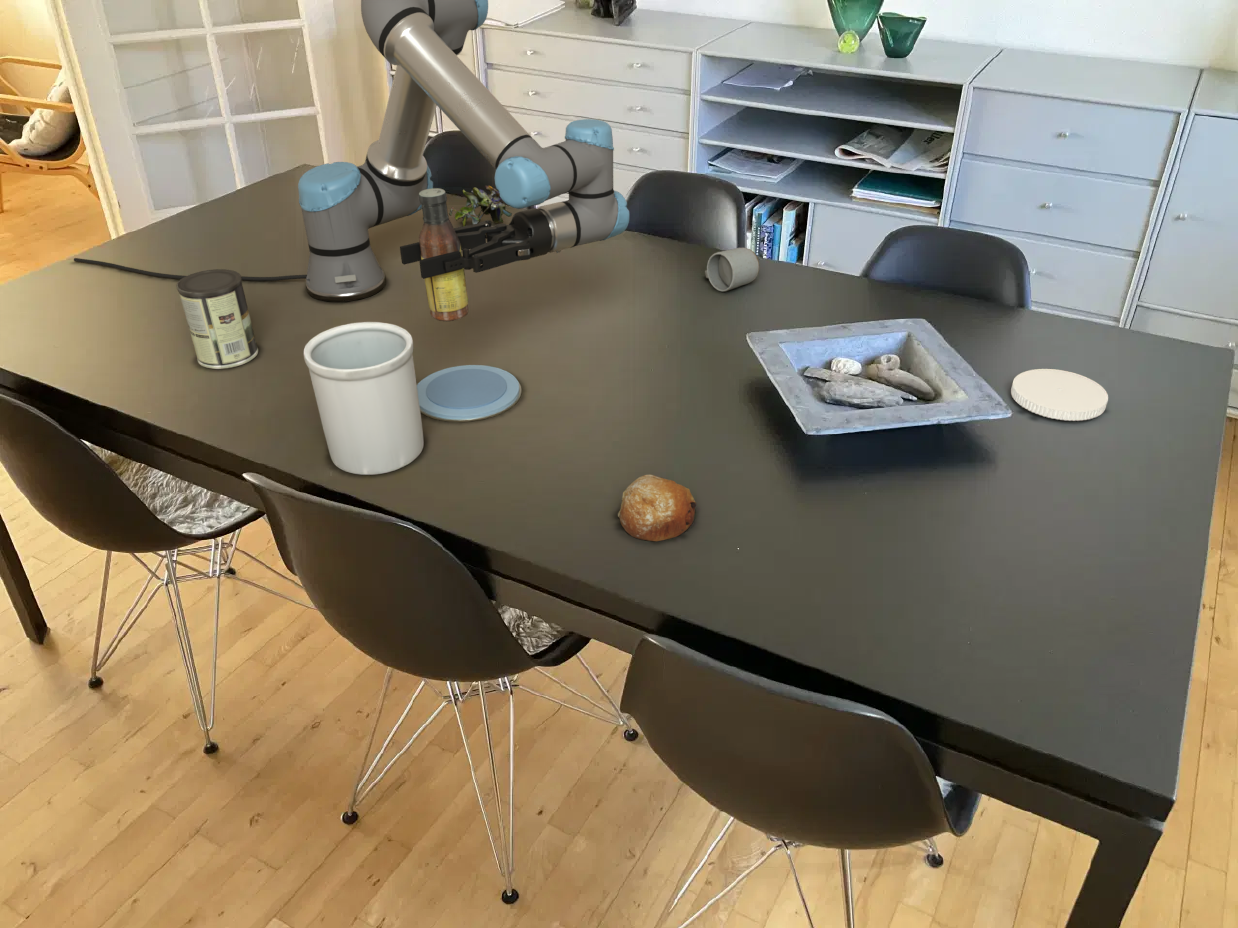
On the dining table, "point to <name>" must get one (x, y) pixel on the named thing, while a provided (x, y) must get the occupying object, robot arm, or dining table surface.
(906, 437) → the dining table surface
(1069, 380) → the plastic lid
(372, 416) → the utensil holder
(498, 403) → the blue plate
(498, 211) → the passion flower
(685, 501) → the bread roll
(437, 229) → the sauce bottle
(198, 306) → the coffee can
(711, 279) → the ceramic mug
